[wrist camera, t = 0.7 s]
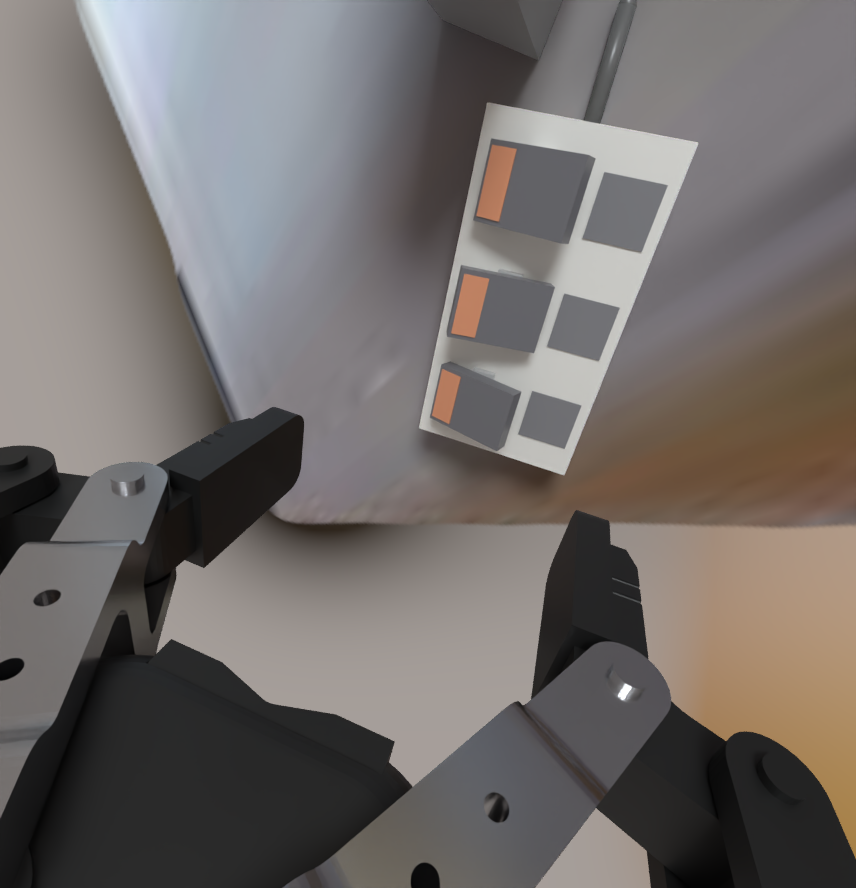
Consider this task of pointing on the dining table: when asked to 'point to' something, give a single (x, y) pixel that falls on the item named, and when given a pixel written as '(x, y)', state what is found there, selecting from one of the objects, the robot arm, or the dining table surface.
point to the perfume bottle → (503, 21)
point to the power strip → (567, 266)
